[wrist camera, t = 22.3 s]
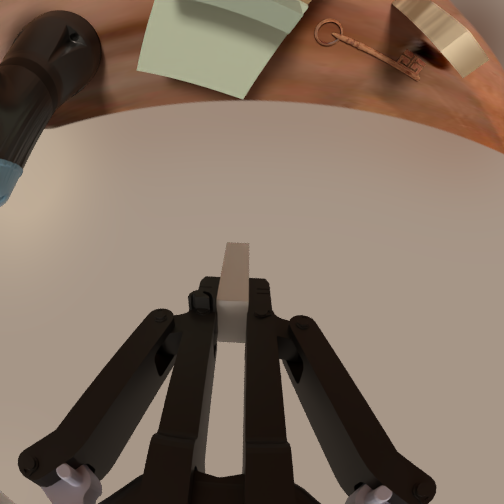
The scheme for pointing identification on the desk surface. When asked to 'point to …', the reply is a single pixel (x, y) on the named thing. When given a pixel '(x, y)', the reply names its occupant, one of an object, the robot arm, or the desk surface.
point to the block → (445, 34)
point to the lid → (216, 40)
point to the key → (376, 53)
